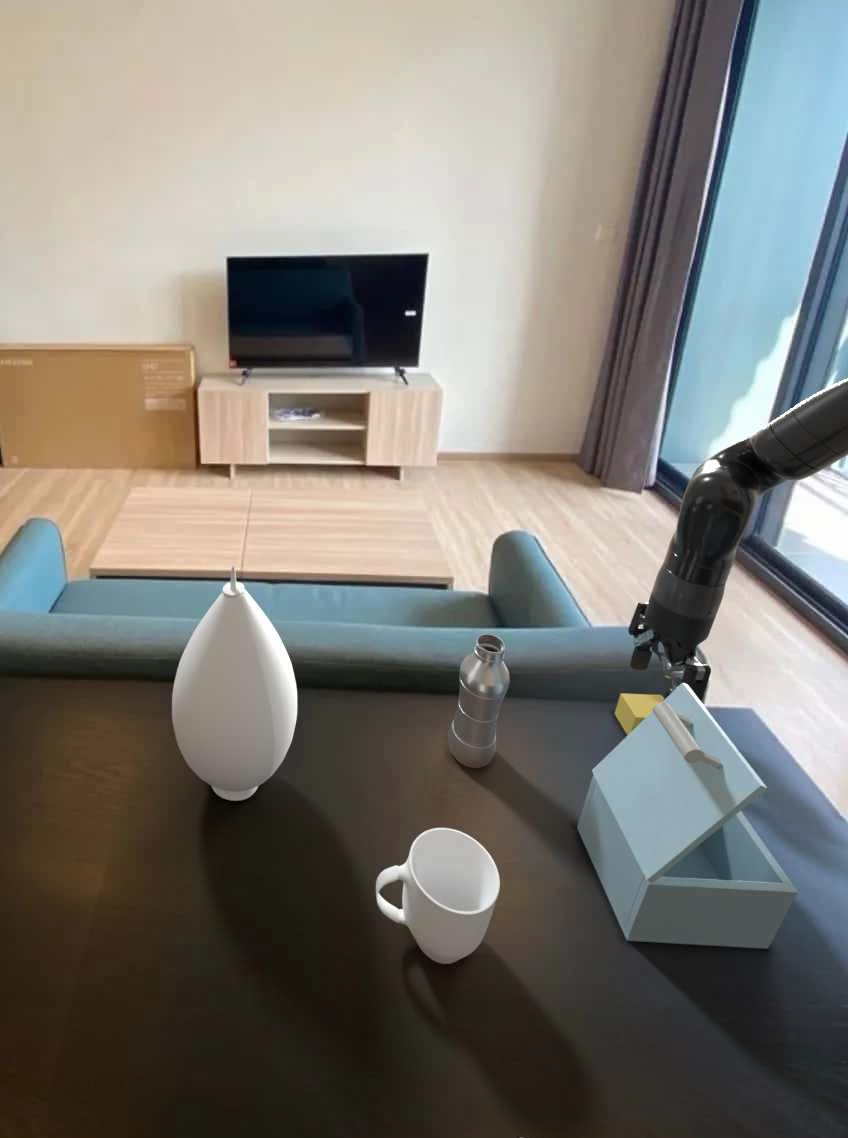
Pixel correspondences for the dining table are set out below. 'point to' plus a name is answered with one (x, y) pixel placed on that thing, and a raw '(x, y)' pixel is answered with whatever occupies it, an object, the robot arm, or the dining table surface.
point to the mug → (444, 893)
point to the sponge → (635, 709)
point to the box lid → (675, 782)
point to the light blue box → (690, 884)
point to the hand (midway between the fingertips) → (652, 689)
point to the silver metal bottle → (479, 702)
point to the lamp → (234, 696)
